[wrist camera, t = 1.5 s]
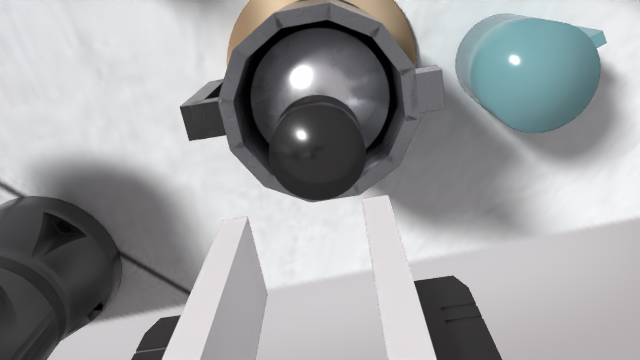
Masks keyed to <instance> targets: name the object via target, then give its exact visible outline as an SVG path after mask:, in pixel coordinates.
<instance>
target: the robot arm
mask: <svg viewBox="0 0 640 360" xmlns="http://www.w3.org/2000/svg"><path fill="white" fill-rule="evenodd" d="M362 204H363V210H364V217H365V223H366V230H367V236H368V242H369V249H370V255H371V262H372V268H373V274H374V281H375V287H376V292H377V299H378V305H379V311H380V317H381V323H382V329H383V335H384V342H385V348H386V354H387V360H502V359H501V356H500V354H499V352H498V350H497V348H496V345H495V343H494V341H493V339H492V337H491V335H490V333H489V331H488V328H487V326H486V324H485V322H484V320H483V319H482V316H481V314H480V311H479V309H478V307H477V306H476V303H475V301H474V298H473V297H472V294H471V292H470V290H469V288H468V287H467V286H466V285H464V284H463V283H462V282H461V281H459V280H458V279H456V277H454V276H447V277H439V278H433V279H425V280H418V281H413V277H412V274H411V271H410V267H409V264H408V260H407V257H406V254H405V250H404V247H403V243H402V240H401V237H400V233H399V230H398V226H397V223H396V220H395V216H394V213H393V210H392V206H391V203H390V199H389V196H388V195H384V196H377V197H371V198H364V199H362ZM120 280H121V260H120V256H119V253H118V250H117V248H116V246H115V244H114V242H113V240H112V238H111V237H110V235H109V234H108V232H107V231H106V230H105V229H104V228H103V227H102V225H101V224H100V223H98V222H97V221H96V220H95V219H94V218H93V217H92V216H90V215H89V214H88V213H86V212H84V211H83V210H81V209H79V208H78V207H76V206H74V205H72V204H69V203H67V202H64V201H61V200H57V199H53V198H48V197H39V196H30V197H21V198H17V199H13V200H10V201H8V202H6V203H3V204H2V205H0V360H47V358H48V357H49V356H50V354H51V353H52V352H53V350H54V349H55V347H56V346H57V345H58V343H59V342H60V341H61V340H63V339H64V338H66V337H68V336H69V335H71V334H72V333H74V332H76V331H77V330H79V329H80V328H82V327H83V326H85V325H87V324H88V323H90V322H91V321H93V320H94V319H95V318H97V317H98V316H99V315H100V314H101V313H102V312H103V311H104V310H105V308H106V307H107V306H108V304H109V303H110V301H111V300H112V298H113V297H114V295H115V294H116V292H117V290H118V287H119V284H120ZM267 295H268V294H267V290H266V286H265V282H264V278H263V274H262V270H261V267H260V263H259V259H258V255H257V251H256V247H255V243H254V239H253V235H252V231H251V227H250V223H249V219H248V217H241V218H235V219H228V220H222V222H221V225H220V227H219V229H218V232H217V234H216V236H215V238H214V241H213V243H212V245H211V248H210V250H209V252H208V255H207V257H206V259H205V261H204V264H203V266H202V268H201V271H200V273H199V275H198V277H197V280H196V282H195V284H194V287H193V289H192V291H191V294H190V296H189V298H188V300H187V303H186V305H185V307H184V310H183V312H182V314H181V315H179V316H173V317H166V318H160V319H159V320H158V321H157V322H156V323H155V324H154V325H153V326H152V327H151V328H150V329H149V330H148V331H147V332H146V333H145V335H144V336H143V338H142V340H141V342H140V344H139V346H138V348H137V350H136V354H134V356H133V358H132V359H131V360H255V359H256V354H257V349H258V343H259V337H260V333H261V327H262V321H263V316H264V311H265V306H266V301H267Z"/></svg>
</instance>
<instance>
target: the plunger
mask: <svg viewBox="0 0 640 360" xmlns="http://www.w3.org/2000/svg"><path fill="white" fill-rule="evenodd" d="M251 106H252V112H253V116H254V119H255V122H256V124H257V126H258V128H259V130H260V132H261V133H262V135H263V137H264V138H265V139H266V140H267V142H268V143H269V144H270V145H269V163H270V166H271V170H272V172H273V174H274V176H275V178H276V179H277V181H278V182H279V183H280V184H281V185H282V186H283V187H284V188H285V189H286V190H288V191H289V192H290V193H292V194H294V195H296V196H298V197H301V198H304V199H308V200H327V199H331V198H334V197H337V196H339V195H341V194H343V193H345V192H346V191H348V190H349V189H350V188H351V187H352V186H353V185H354V184H355V183H356V182H357V180H358V179H359V177H360V176H361V174H362V172H363V169H364V166H365V161H366V148H367V147H368V146H369V145H370V144H371V143H372V142H373V141H374V140H375V138H376V137H377V135H378V134H379V132H380V131H381V129H382V127H383V125H384V122H385V120H386V117H387V113H388V108H389V87H388V82H387V78H386V75H385V72H384V70H383V68H382V66H381V64H380V62H379V61H378V59H377V58H376V56H375V55H374V53H373V52H372V51H371V50H370V49H369V48H368V47H367V46H366V45H365V44H364V43H363V42H361V41H360V40H359V39H357V38H355V37H354V36H352V35H350V34H348V33H346V32H343V31H340V30H336V29H331V28H309V29H304V30H300V31H297V32H295V33H292V34H290V35H288V36H286V37H285V38H283V39H281V40H280V41H279V42H278V43H276V44H275V45H274V46H273V47H272V48H271V49H270V50H269V51H268V52H267V54H266V55H265V56H264V58H263V59H262V60H261V62H260V64H259V66H258V68H257V70H256V72H255V75H254V78H253V82H252V88H251Z"/></svg>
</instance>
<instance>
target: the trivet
mask: <svg viewBox="0 0 640 360" xmlns="http://www.w3.org/2000/svg"><path fill="white" fill-rule="evenodd" d="M296 1H299V0H250V1H249V2H248V3H247V5H246V6H245V8H244V9H243V11H242V12H241V14H240V16H239V18H238V19H237V21H236V23H235V26H234V28H233V31H232V34H231V37H230V42H229V46H228V55H227V67H228V64H229V60H230V57H231V53H232V50H233V49H234V48H235V47H236V46H237V45H238V44H240V43H241V42H242V41H243V40H244V39H245V38H246V37H247V36H248V35H249V34H251V33H252V32H253V31H254V30H255V29H256V28H257V27H258V26H259V25H260V24H262V23H263V22H264V21H265V20H266V19H267V18H268V17H269V16H270V15H271V14H273V13H274V12H276V11H277V10H279V9H281V8H283V7H284V6H286V5H288V4H290V3H294V2H296ZM344 1H347V2H349V3H351V4H354V5H356V6H357V7H359V8H360V9H362V10H364V11H366V12H367V13H369V14H370V15H371V16H373V17H374V18H376V19H377V20H378V21H380V22H381V23H382V24H383V25H384V26H385V28H386V29H387V30H388V32H389V33H390V34H391V36H392V37H393V38H394V40H395V41H396V42H397V43H398V45H399V46H400V47H401V49H402V50H403V51H404V53H405V54H406V55H407V57H408V58H409V59H410V61H411V62H412V63H413V65H414V66H415V69H416V51H415V45H414V40H413V36H412V33H411V30H410V27H409V25H408V23H407V21H406V19H405V16H404V15H403V13H402V12H401V10H400V9H399V7H398V6H397V4H396V3H395V2H394V1H393V0H344Z"/></svg>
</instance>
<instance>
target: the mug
mask: <svg viewBox="0 0 640 360" xmlns="http://www.w3.org/2000/svg"><path fill="white" fill-rule="evenodd" d="M606 43H607V42H606V39H605V36H604V33H603V31H601V30H596V29H590V28H584V27H578V26H573V25H570V24H567V23H562V22H557V21H551V20H545V19H539V18H533V17H527V16H521V15H515V14H498V15H493V16H491V17H488V18H486V19H484V20H482V21H480V22H479V23H477V24H476V25H475V26H474V27H472V28H471V29H470V30H469V31H468V33H467V34H466V35H465V37H464V38H463V40H462V42H461V43H460V46H459V48H458V51H457V55H456V62H455V68H456V74H457V78H458V81H459V83H460V85H461V87H462V88H463V89H464V91H465V92H466V93H467V94H468V95H469V96H471V97H472V98H473V99H474V100H476V101H477V102H478V103H480V104H481V105H482V106H483V107H485V108H486V109H487V110H488V111H490V112H491V113H492V114H494V115H495V116H496V117H497V118H499V119H500V120H501V121H503V122H504V123H505V124H507V125H508V126H510V127H512V128H514V129H516V130H519V131H522V132H527V133H542V132H547V131H551V130H554V129H557V128H559V127H562V126H564V125H565V124H567V123H569V122H570V121H572V120H573V119H574V118H576V117H577V116H578V115H579V114H580V113H581V112H582V111H583V110H584V109H585V108H586V106H587V105H588V104H589V102H590V101H591V99H592V97H593V95H594V93H595V91H596V88H597V86H598V82H599V77H600V59H599V55H598V51H597V49H596V48H598V47H600V46H602V45H604V44H606Z"/></svg>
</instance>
